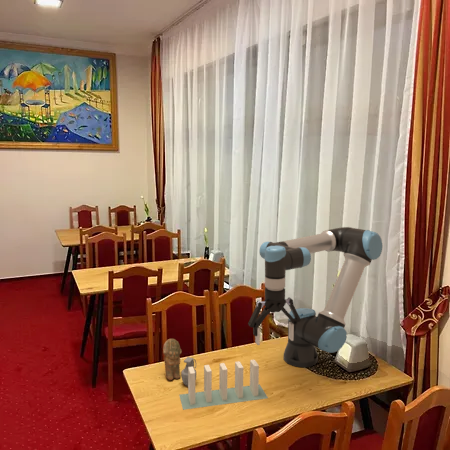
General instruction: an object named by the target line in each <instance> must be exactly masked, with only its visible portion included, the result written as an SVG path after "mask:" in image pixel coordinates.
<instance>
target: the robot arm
mask: <svg viewBox="0 0 450 450" xmlns="http://www.w3.org/2000/svg"><path fill="white" fill-rule="evenodd" d="M323 251H324V252H328V253H329V252H338V253H339V252H340V253H343V256H344V259H345V260H344V261H343V264H342V266H341V268H340V271H339V274H338V276H337V279H336V281H335V282H334V285H333V288H332V290H331V292H330V295H329V298H328V300H327V301H326V305H325V307H324V309H323V310H322V311H319V312H318V314H317V312H316V310H315V309H312V308H307V307H300V308H296V307H295V306H294V305H295V304H294V300H293V298H291V297H287V298H286V271H290V270H294V269H301V268H303V267H308V266H309V265H310V264H311V261H312V255H311V254H314V253H315V254H316V253H318V252H319V253H320V252H323ZM382 253H383V240H382V238H381V236H380V235H379V233H378V232H375V231H372V230H371V229H370V230H369V229H361V228H356V227H355V228H354V227H350V226H342V227H341V226H340V227H337V228H336V227H335V228H332V229H326V230H322V232H321V233H318V234H312V235H307V236H303V237H297V238H293V239H292V238H291V239H289V240H288V239H287V240H283V241H282V240H281V241H277V242H272V241H264V242H263V243H262V244H260V247H259V256H260V258H261V259H263V260H264V287H265V288H264V300H263V301H260V300H257V301H256V303H255V304H256V305H255V308H254V309H253V312H252V314H251V317H250V319H249V321H248V323H247V325H248V326H249V327H250V328H252V334H253V336H254V338H255V344H256V345H257V346H261V345H260V344H261V343H260V342H261V340H260V339H261V333H260V332H261V328H260V325H261V324H262V323H263V321H264V320H265V319H266V317H267V316H268V315H270V313H271V314H272V313H273V314H274V313H280V312H282V313H283V314H284V315H285V317H286V318H288V319H287V324H288V325H287V343H286V346H285V348H284V352H283V360H284V362H285V363H287V364H288V365H290V366H293V367H298V368H310V367H313V365H314V366H316V365H317V364H316V363H318V361H319V357H318V352H317V348H318V349H319V350H321V351H324V352H327V353H329V354H330V353H336V352H338V351H340V350H341V349H342V347H344V345H345V343H346V341H347V338H348V337H347V334H348V333H347V330H346V329H345V326H346V323H345V320H344V318H345V317H346V314H347V312H348V309H349V307H350V305H351V302H352V299H353V296H354V294H355V292H356V290H357V287H358V285H359V282H360V280H361V277H362V275H363V272H364V271H365V268H366V267H368V266H370V265H371V263H372V261H375V260H377V259H379V258H380V256H381V255H382ZM286 304H287V305H288V307H289V309H290V311H287V309H286V308H285V306H286ZM264 306H265V307H264ZM262 308H263V310H262ZM261 310H262V311H261ZM260 312H261V313H260ZM316 315H317V316H316Z"/></svg>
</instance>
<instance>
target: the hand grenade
mask: <svg viewBox="0 0 450 450" xmlns="http://www.w3.org/2000/svg"><path fill="white" fill-rule="evenodd" d="M183 363H185V366H184V369H182V370H181V372H180V374H181V375H180V378H181V381H182V383H183V384H184V386H185V387H188V367H193V368H194V371H195V381H196V379H197V370H196V368H197V365H195V364H197V361H196V359H195V358H194V357H190V356H187V357H186V358H185V359H184V360H183Z"/></svg>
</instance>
